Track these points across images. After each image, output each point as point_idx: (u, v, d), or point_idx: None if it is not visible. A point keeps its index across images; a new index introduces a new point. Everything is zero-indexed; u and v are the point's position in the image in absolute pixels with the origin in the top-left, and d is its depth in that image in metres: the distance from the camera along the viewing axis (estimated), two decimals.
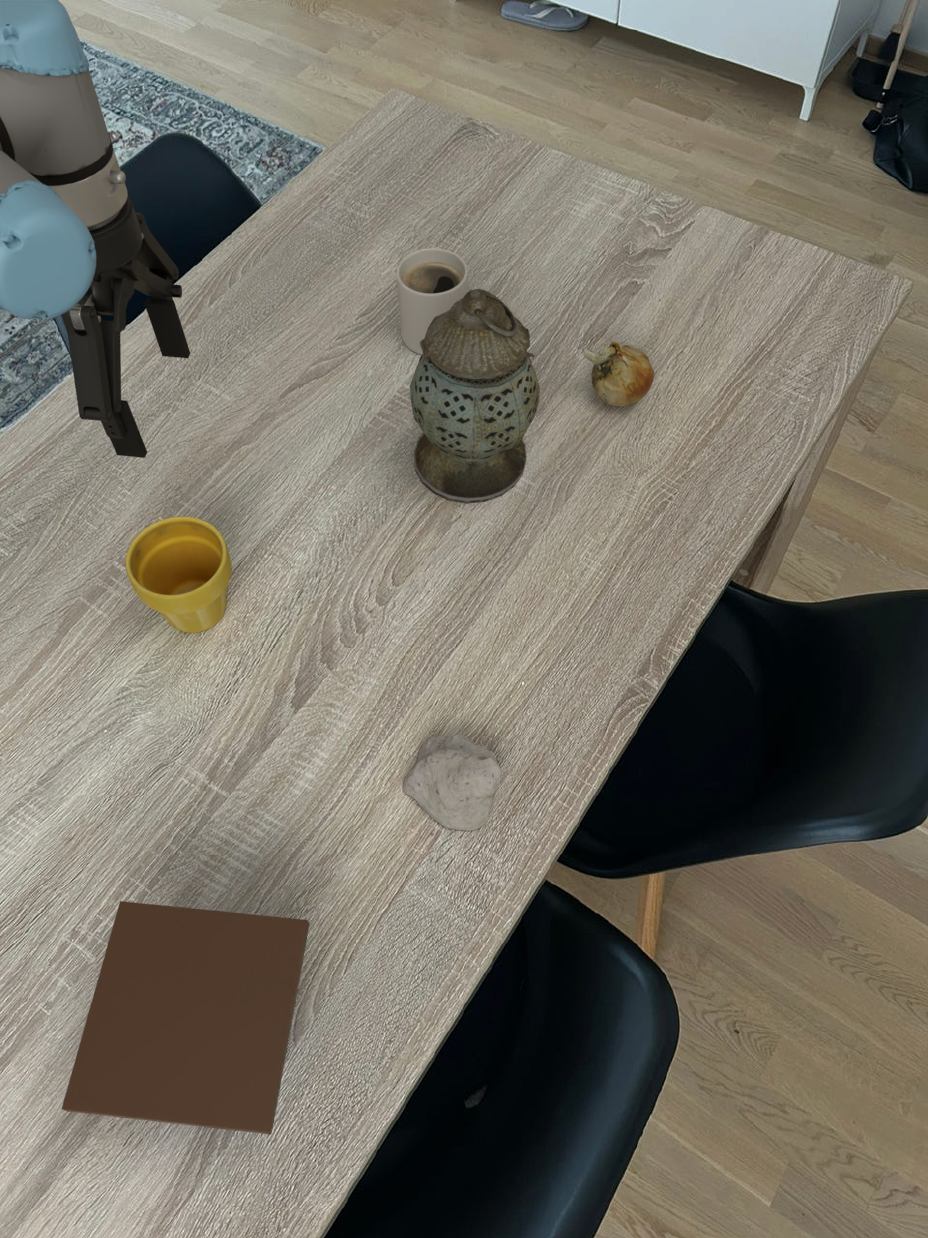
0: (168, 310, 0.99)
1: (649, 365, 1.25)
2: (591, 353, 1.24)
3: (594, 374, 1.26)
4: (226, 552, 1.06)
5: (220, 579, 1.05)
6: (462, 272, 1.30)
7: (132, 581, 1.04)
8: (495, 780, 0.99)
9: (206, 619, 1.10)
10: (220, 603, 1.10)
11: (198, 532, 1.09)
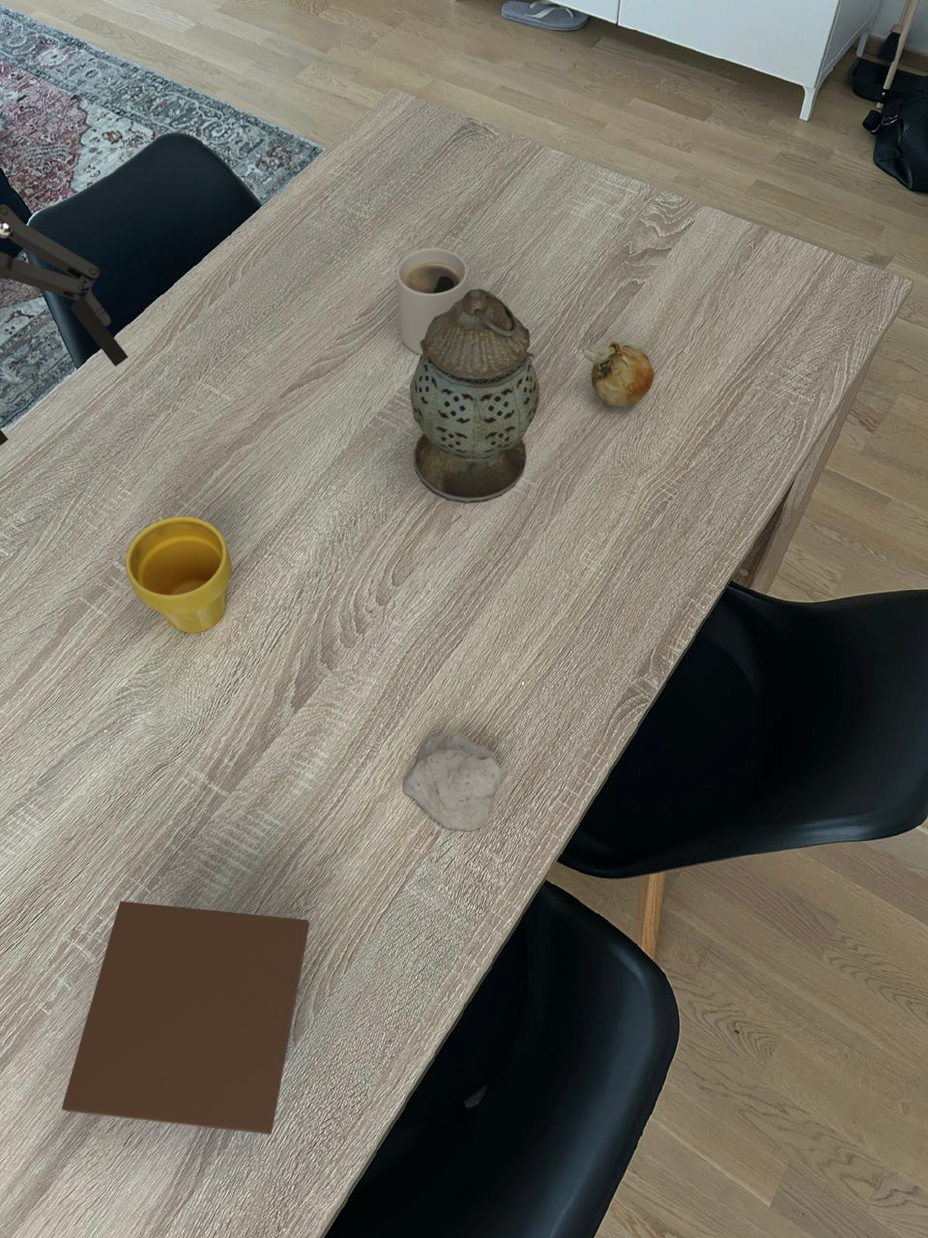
0: (79, 307, 0.96)
1: (649, 365, 1.25)
2: (591, 354, 1.24)
3: (594, 374, 1.26)
4: (226, 552, 1.06)
5: (220, 579, 1.05)
6: (462, 272, 1.30)
7: (132, 581, 1.04)
8: (495, 780, 0.99)
9: (206, 619, 1.10)
10: (220, 603, 1.10)
11: (198, 532, 1.09)
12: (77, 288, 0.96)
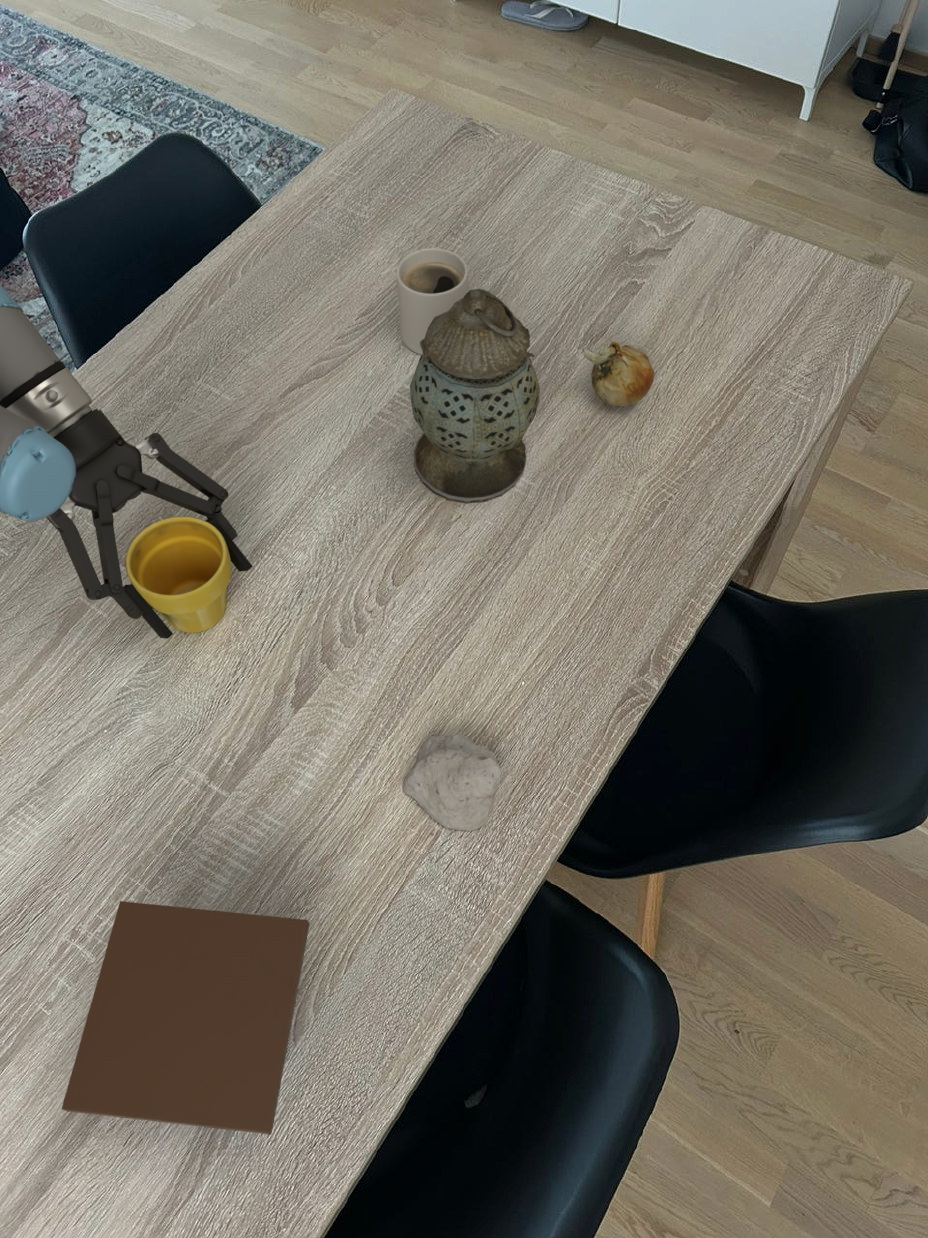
0: None
1: (649, 365, 1.25)
2: (591, 354, 1.24)
3: (594, 374, 1.26)
4: (226, 552, 1.06)
5: (220, 579, 1.05)
6: (462, 272, 1.30)
7: (132, 581, 1.04)
8: (495, 780, 0.99)
9: (206, 619, 1.10)
10: (220, 603, 1.10)
11: (198, 532, 1.09)
12: (209, 510, 1.08)
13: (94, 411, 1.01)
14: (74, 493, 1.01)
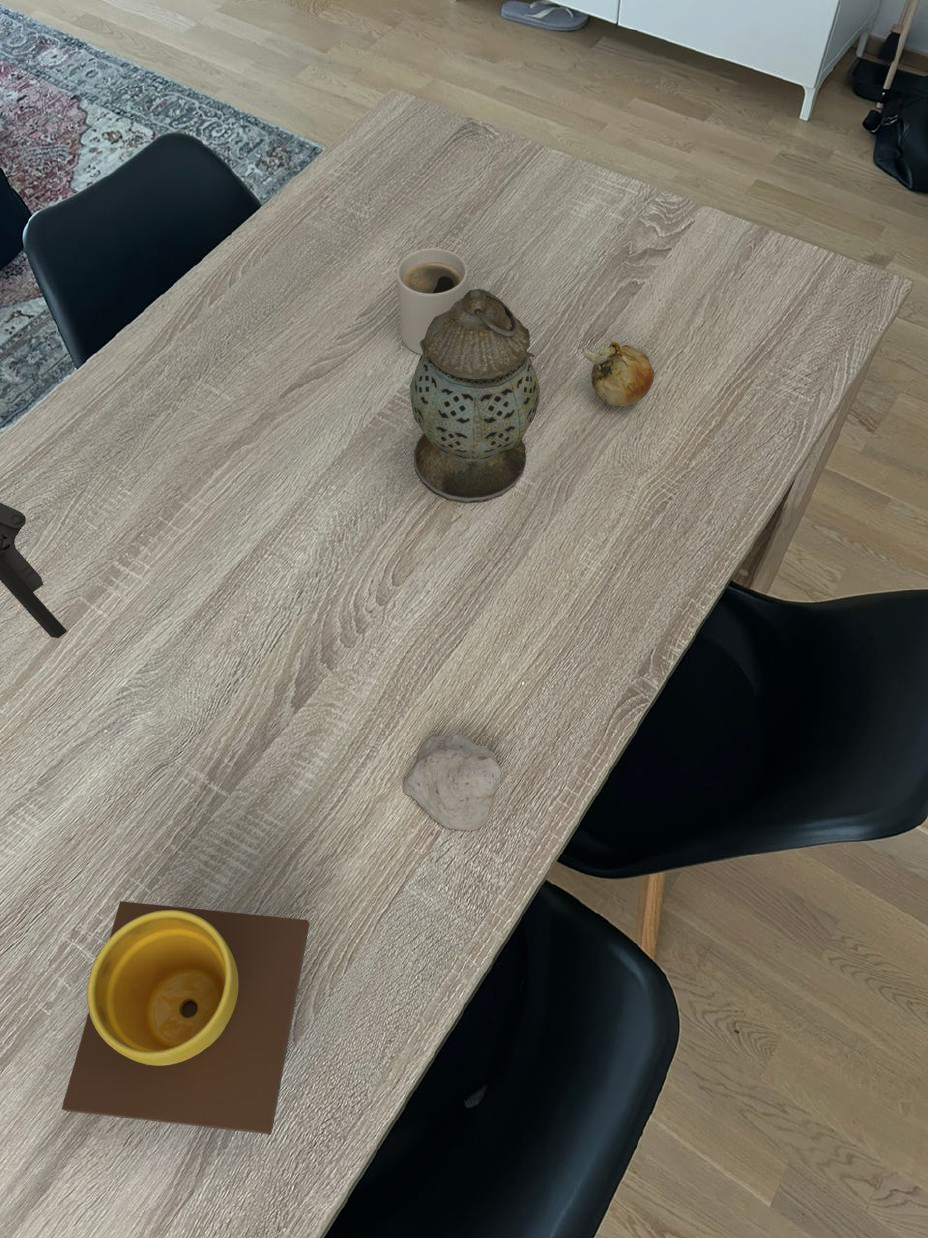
0: None
1: (649, 365, 1.25)
2: (591, 354, 1.24)
3: (594, 374, 1.26)
4: (231, 974, 0.75)
5: (223, 1017, 0.74)
6: (462, 272, 1.30)
7: (96, 1027, 0.73)
8: (495, 780, 0.99)
9: None
10: None
11: (192, 927, 0.78)
12: None
13: None
14: None
